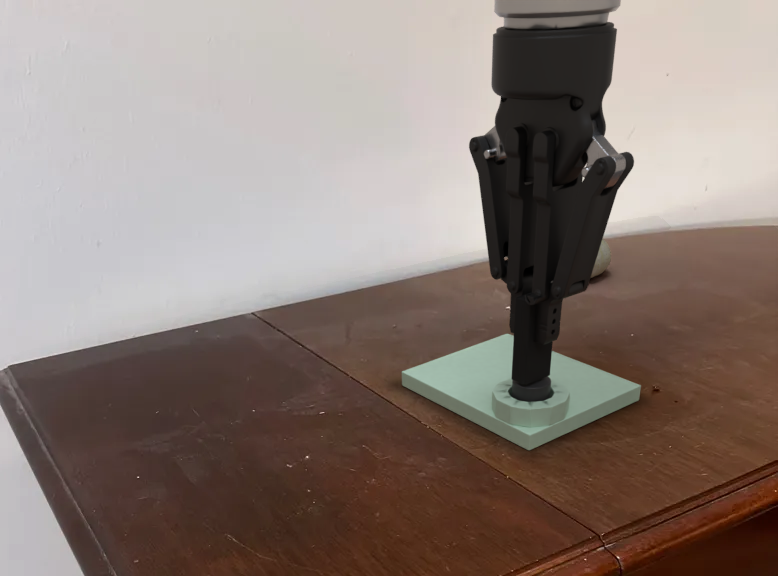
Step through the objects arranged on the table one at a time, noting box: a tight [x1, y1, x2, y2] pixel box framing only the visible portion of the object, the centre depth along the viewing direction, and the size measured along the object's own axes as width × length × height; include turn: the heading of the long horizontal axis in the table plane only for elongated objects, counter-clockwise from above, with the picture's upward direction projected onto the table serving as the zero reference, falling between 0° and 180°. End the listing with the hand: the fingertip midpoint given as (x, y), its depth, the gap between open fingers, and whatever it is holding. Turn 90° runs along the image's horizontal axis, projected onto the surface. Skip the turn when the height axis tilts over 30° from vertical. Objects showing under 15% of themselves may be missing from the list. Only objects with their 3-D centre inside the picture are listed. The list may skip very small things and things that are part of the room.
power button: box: [512, 376, 551, 402], centre depth 64 cm, size 3×3×2 cm
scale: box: [401, 333, 642, 451], centre depth 70 cm, size 16×13×3 cm
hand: (530, 377), depth 64 cm, fingers closed
